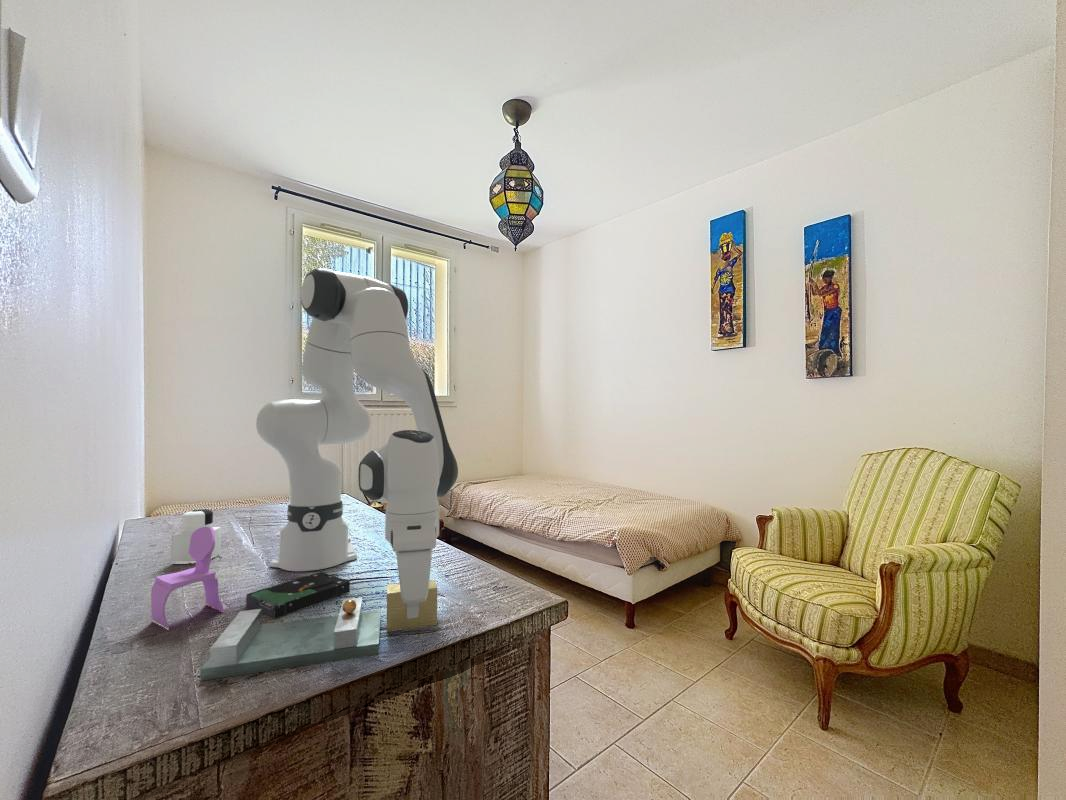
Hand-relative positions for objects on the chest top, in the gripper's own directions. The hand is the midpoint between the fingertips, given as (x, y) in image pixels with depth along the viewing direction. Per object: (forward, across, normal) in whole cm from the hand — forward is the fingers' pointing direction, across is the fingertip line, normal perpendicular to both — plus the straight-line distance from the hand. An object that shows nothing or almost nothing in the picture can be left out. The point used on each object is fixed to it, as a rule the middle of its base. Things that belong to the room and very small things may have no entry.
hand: (411, 609), depth 75 cm
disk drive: (+3, -17, -20) cm, 26 cm away
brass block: (+2, 0, 0) cm, 2 cm away
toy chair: (+2, -14, -37) cm, 40 cm away
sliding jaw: (0, +3, -9) cm, 10 cm away
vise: (+2, +3, -16) cm, 16 cm away
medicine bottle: (+2, -51, -49) cm, 71 cm away
